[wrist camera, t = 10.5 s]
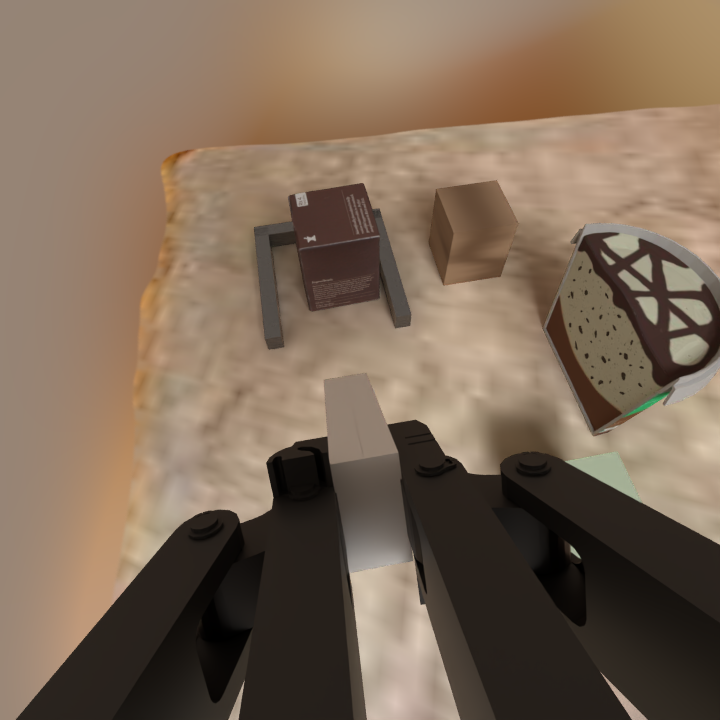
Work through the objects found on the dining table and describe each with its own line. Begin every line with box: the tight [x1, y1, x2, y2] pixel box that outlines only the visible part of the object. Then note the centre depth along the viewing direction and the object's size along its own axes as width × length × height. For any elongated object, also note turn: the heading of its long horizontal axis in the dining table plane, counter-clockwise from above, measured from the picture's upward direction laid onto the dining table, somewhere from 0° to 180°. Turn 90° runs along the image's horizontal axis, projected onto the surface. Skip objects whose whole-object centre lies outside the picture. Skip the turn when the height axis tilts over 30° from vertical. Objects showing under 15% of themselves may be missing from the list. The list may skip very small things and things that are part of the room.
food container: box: [543, 223, 720, 436], centre depth 31 cm, size 12×6×10 cm, turn 10°
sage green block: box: [565, 452, 642, 559], centre depth 27 cm, size 5×5×6 cm
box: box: [288, 183, 380, 311], centre depth 38 cm, size 6×6×7 cm
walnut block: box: [429, 180, 519, 285], centre depth 39 cm, size 5×5×6 cm
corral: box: [254, 209, 411, 349], centre depth 40 cm, size 11×12×2 cm
